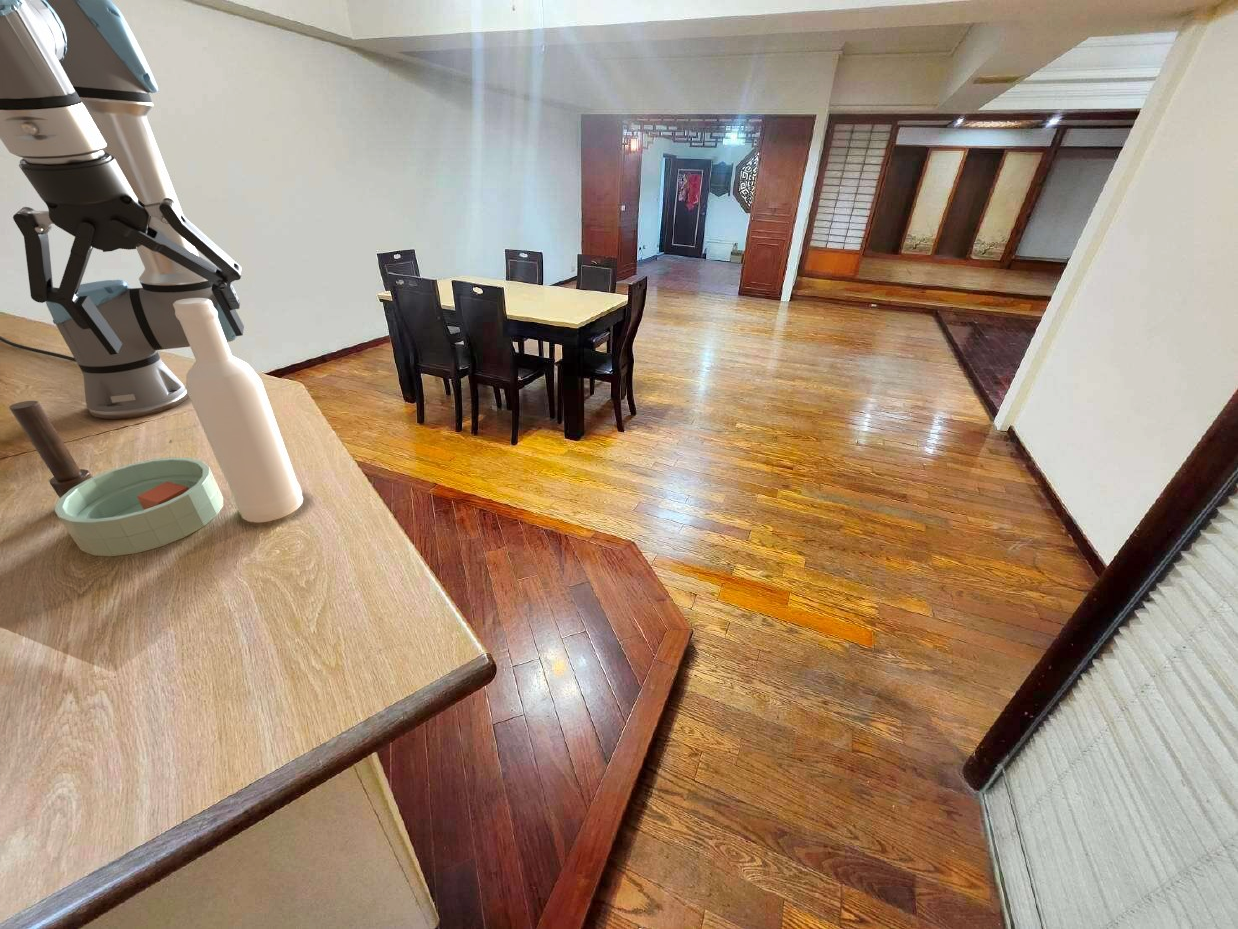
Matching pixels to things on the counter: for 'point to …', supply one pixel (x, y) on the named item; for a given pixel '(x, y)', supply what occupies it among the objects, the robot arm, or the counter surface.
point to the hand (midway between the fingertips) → (180, 340)
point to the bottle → (237, 419)
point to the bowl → (139, 506)
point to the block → (161, 494)
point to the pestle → (49, 446)
